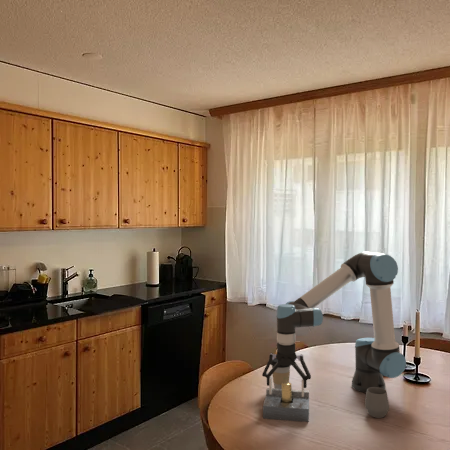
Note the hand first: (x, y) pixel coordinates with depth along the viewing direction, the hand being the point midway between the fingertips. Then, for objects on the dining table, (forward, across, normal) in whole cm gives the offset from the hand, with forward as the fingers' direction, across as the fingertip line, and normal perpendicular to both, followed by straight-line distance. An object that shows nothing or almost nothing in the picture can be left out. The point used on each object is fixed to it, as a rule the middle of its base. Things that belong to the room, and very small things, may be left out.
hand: (286, 394), depth 184 cm
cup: (+8, -36, -4) cm, 37 cm away
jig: (+8, 0, 0) cm, 8 cm away
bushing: (+8, 0, 0) cm, 8 cm away
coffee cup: (+8, +4, -21) cm, 23 cm away
